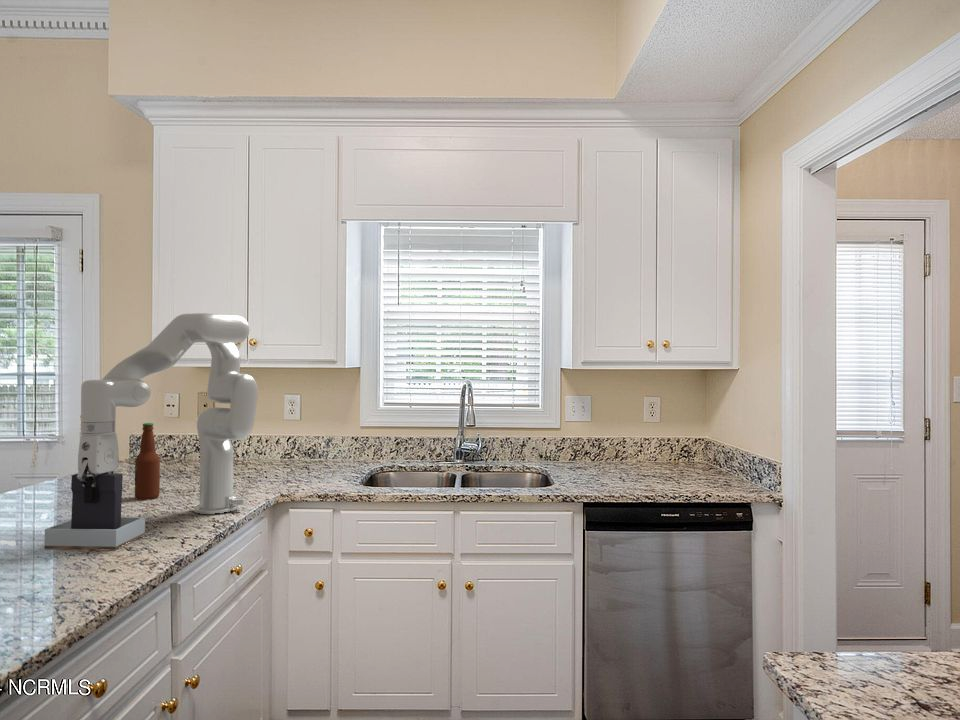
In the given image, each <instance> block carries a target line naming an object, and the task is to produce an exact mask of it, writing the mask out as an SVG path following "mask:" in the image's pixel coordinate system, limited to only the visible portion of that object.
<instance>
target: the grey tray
mask: <svg viewBox="0 0 960 720" xmlns="http://www.w3.org/2000/svg"><path fill="white" fill-rule="evenodd" d="M143 533H145V534H146V517H145V516H138V517H137V516H121V527H120V528H118V529H115V530H111V529H71V519H68V520H66V521H63V522H60V523H57V524H55V525H53V526H49V527H46V528H44V547H45V546H102V547H116V546H118V545H121V544H123V543H125V542H127V541H129V540H131V539H133V538H135V537H137V536H139V535H141V534H143Z"/></svg>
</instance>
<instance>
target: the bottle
mask: <svg viewBox="0 0 960 720" xmlns="http://www.w3.org/2000/svg"><path fill="white" fill-rule="evenodd" d="M139 448H140V449H139V450H140V452H139V453H138V455H137V456H136V458H135V461H134V498H135V499H136V500H137V499H138V501H148V500H147V499H151V500H155V499H158V497H160V486H161V485H160V481H161V480H160V479H161V478H160V477H161V475H160V473H161V472H160V471H161V469H160V468H161V463H160V462H161V461H160V460H161V459H160V456H159V455H158V454H157V452H156V441H155V435H154V423H153V422H144V423H142V434H141V439H140V447H139ZM154 498H155V499H154Z"/></svg>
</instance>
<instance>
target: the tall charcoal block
mask: <svg viewBox="0 0 960 720" xmlns="http://www.w3.org/2000/svg"><path fill="white" fill-rule="evenodd" d="M89 474H94V473H89ZM77 475H78V473H74V474H71V481H70V482H71V485H70V491H71V492H72V494H71V495H72V497H71V516H70V517H71V518H70V520H71V529H111V530H115V529H118V528H120V527H121V517H122V504H123V503H122V500H123V477H124V476H123V473H119V472H118V473H115V472H114V473H105V474H101V475H98V478H97V485H96V487H98V502H97V503H85V502H84V487H83V483H82V482H81V481H80V480H79V479H78V478H77ZM89 478H90V479H91V480H92V478H93V477H89Z"/></svg>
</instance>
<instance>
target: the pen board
mask: <svg viewBox="0 0 960 720" xmlns="http://www.w3.org/2000/svg"><path fill="white" fill-rule="evenodd" d="M143 535H145V536H146V532H145V533H143V534H141V535H139V536H137V537H135V538H133V539H131V540H129V541H127V542H125V543H123V544H121V545H118V546H116V547H102V546H45V545H44V550H82V549H117V548H119V547H121V546H122V545H125V544H126V543H128V542H131V541H133V540H135V539H137V538H139V537H141V536H143ZM143 537H144V536H143ZM141 538H142V537H141ZM139 539H140V538H139ZM137 540H138V539H137ZM135 541H136V540H135ZM133 542H134V541H133ZM131 543H132V542H131ZM125 546H126V545H125ZM121 548H122V547H121ZM119 549H120V548H119ZM117 550H118V549H117Z"/></svg>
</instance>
